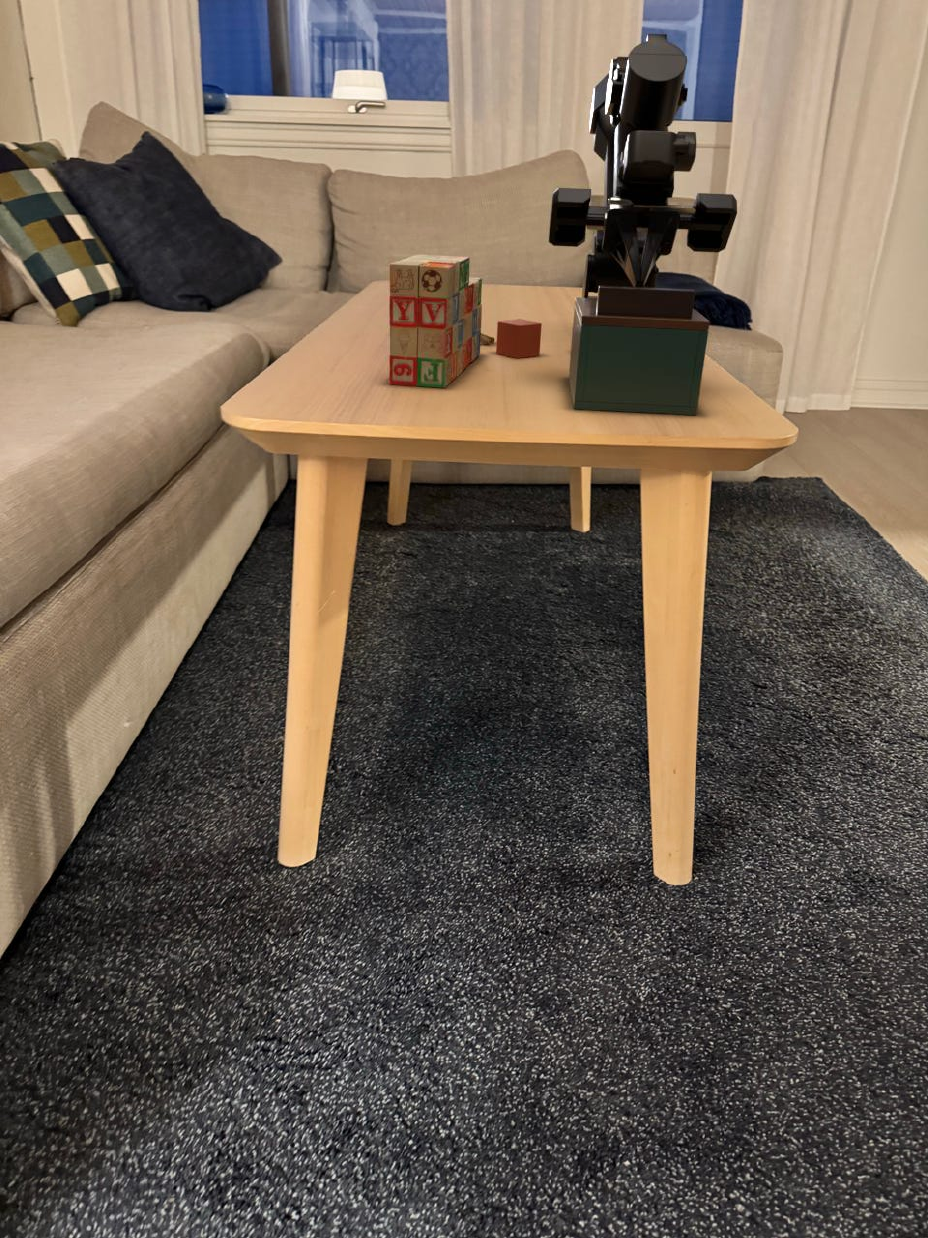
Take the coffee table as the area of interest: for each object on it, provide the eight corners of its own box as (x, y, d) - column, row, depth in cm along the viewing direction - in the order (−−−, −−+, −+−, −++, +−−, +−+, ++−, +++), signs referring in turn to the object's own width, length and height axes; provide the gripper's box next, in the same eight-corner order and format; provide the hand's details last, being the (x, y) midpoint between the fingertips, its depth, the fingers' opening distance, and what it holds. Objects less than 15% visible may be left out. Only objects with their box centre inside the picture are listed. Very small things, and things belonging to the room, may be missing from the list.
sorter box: (568, 379, 103) (574, 305, 100) (674, 384, 103) (684, 310, 99) (573, 409, 90) (581, 324, 86) (696, 415, 89) (708, 330, 86)
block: (518, 350, 119) (519, 318, 117) (539, 355, 116) (542, 323, 115) (495, 353, 117) (497, 321, 115) (517, 358, 114) (519, 325, 112)
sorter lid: (574, 304, 100) (577, 272, 98) (684, 309, 99) (689, 277, 98) (581, 324, 86) (584, 287, 85) (708, 330, 86) (714, 293, 84)
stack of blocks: (432, 351, 116) (434, 248, 111) (480, 355, 115) (485, 250, 110) (388, 384, 97) (388, 261, 92) (445, 388, 96) (449, 264, 91)
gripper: (559, 97, 90) (552, 222, 85) (749, 103, 89) (754, 230, 84) (551, 185, 100) (545, 301, 95) (722, 191, 99) (725, 309, 94)
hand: (639, 285), depth 92 cm, fingers closed
